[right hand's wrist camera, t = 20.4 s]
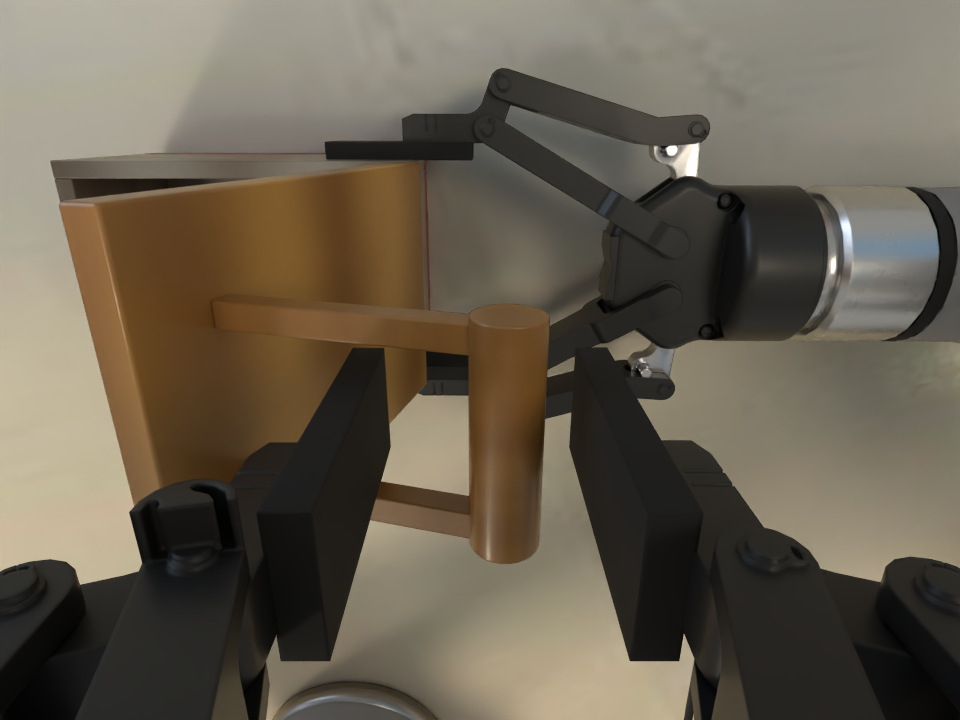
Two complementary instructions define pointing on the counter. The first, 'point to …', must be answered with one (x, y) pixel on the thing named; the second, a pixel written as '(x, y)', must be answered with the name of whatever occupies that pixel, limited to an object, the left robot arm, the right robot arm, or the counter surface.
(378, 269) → the lid
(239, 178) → the chest
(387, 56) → the counter surface
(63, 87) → the counter surface
